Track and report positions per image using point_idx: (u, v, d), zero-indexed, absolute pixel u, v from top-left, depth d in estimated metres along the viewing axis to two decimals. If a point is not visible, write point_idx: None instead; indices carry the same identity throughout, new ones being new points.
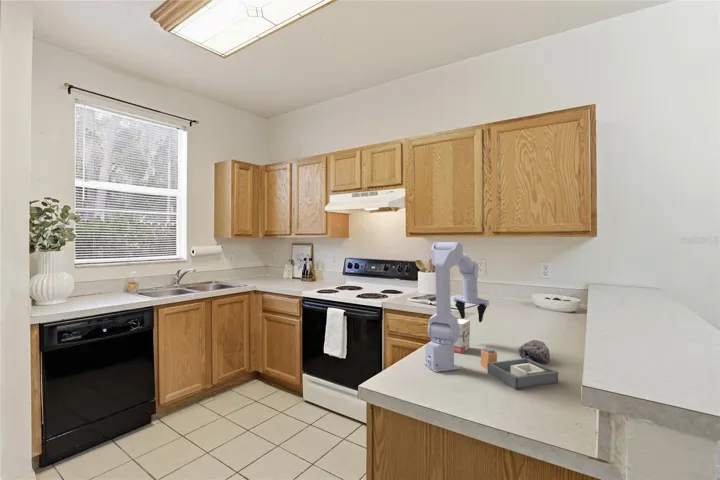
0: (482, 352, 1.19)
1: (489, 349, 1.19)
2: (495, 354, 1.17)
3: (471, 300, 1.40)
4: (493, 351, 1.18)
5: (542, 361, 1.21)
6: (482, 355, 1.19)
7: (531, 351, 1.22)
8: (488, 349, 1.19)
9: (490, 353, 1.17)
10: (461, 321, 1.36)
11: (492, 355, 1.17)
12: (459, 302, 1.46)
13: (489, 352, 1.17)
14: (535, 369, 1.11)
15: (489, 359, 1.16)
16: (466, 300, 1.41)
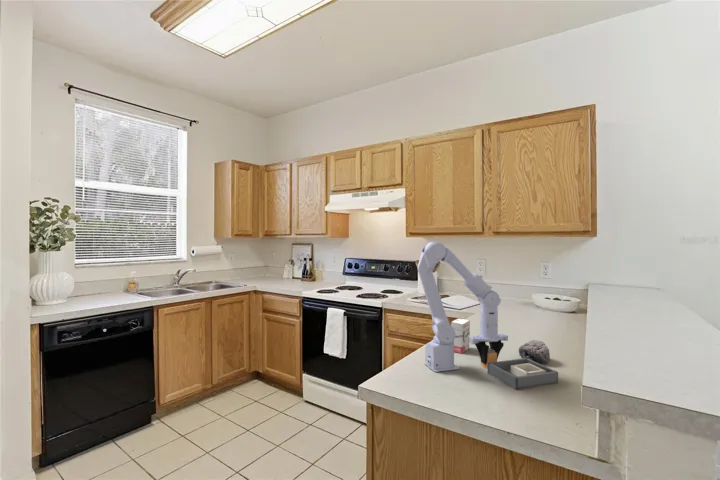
0: None
1: (489, 349, 1.19)
2: (495, 354, 1.17)
3: None
4: (493, 351, 1.18)
5: (542, 361, 1.21)
6: None
7: (531, 351, 1.22)
8: (488, 349, 1.19)
9: (490, 353, 1.17)
10: (461, 321, 1.36)
11: (492, 355, 1.17)
12: None
13: (489, 352, 1.17)
14: (535, 369, 1.11)
15: (489, 359, 1.16)
16: None
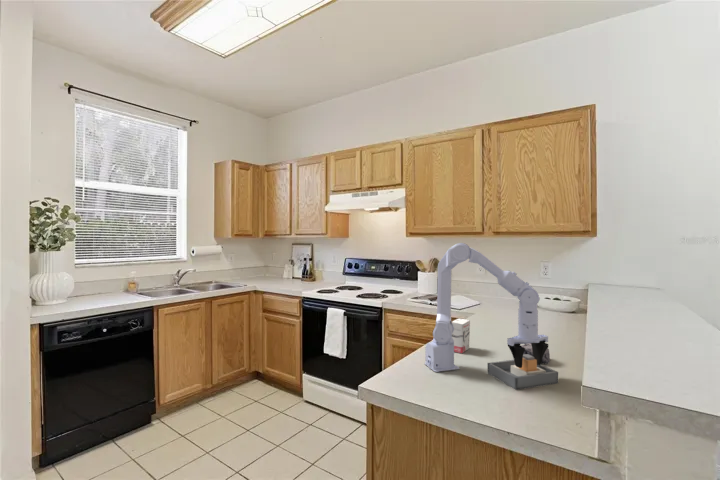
0: None
1: (528, 356, 1.10)
2: (535, 361, 1.09)
3: None
4: (532, 358, 1.09)
5: (542, 361, 1.21)
6: None
7: (531, 351, 1.22)
8: (527, 356, 1.10)
9: (529, 360, 1.08)
10: (461, 321, 1.36)
11: (532, 362, 1.08)
12: None
13: (528, 359, 1.08)
14: None
15: (528, 367, 1.08)
16: None
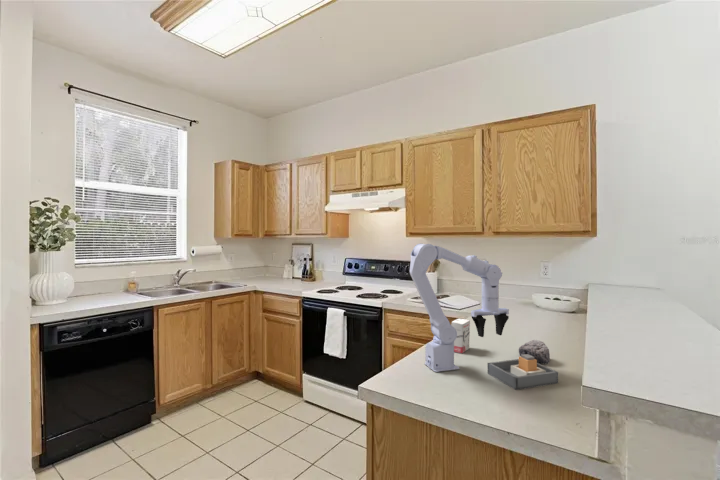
0: (520, 359, 1.11)
1: (528, 356, 1.10)
2: (535, 361, 1.09)
3: None
4: (532, 358, 1.09)
5: (542, 361, 1.21)
6: (520, 362, 1.11)
7: (531, 351, 1.22)
8: (527, 356, 1.10)
9: (529, 360, 1.08)
10: (461, 321, 1.36)
11: (532, 362, 1.08)
12: None
13: (528, 359, 1.08)
14: None
15: (528, 367, 1.08)
16: None
